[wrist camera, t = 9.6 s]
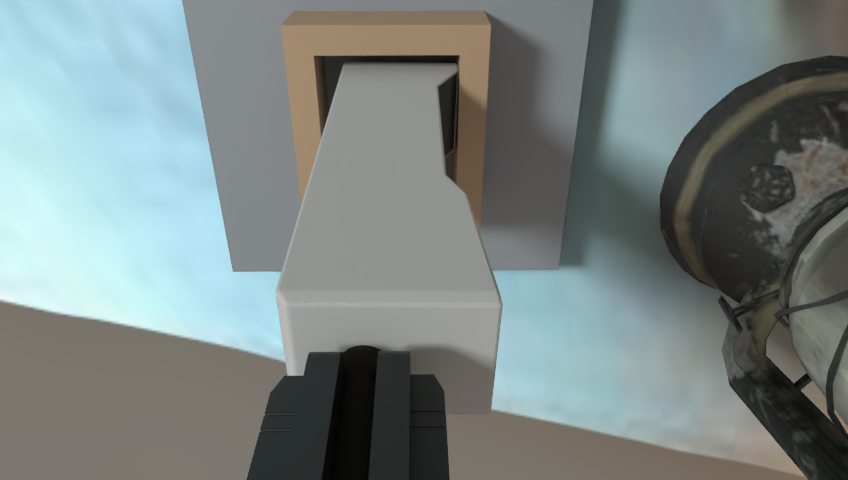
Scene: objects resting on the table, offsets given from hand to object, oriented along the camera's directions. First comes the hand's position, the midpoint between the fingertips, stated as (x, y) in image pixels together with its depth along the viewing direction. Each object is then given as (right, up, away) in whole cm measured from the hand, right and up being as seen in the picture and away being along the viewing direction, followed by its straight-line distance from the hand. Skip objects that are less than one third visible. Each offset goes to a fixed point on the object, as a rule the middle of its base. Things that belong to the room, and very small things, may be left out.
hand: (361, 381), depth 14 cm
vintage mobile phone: (0, +10, +15) cm, 17 cm away
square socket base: (0, +10, +18) cm, 20 cm away
